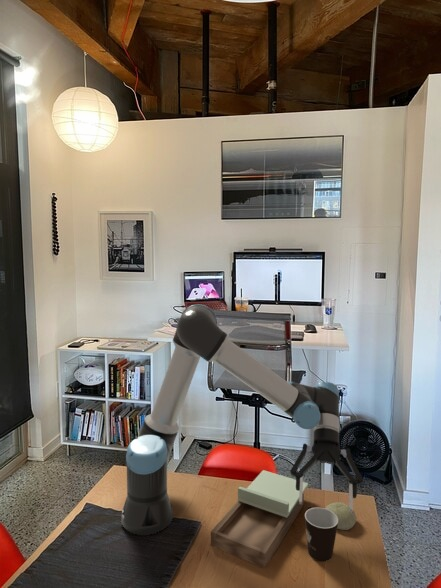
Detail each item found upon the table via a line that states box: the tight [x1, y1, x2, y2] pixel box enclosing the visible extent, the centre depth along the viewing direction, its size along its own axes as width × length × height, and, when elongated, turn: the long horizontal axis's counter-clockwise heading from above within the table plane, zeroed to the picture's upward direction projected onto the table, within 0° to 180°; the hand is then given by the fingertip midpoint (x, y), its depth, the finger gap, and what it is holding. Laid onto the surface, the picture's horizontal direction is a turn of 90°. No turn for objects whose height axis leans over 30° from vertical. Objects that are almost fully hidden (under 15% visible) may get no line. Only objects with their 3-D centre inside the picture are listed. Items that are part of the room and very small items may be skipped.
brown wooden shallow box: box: [210, 493, 305, 569], centre depth 122 cm, size 16×30×4 cm, turn 150°
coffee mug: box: [304, 506, 338, 562], centre depth 112 cm, size 12×9×10 cm
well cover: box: [237, 469, 309, 518], centre depth 130 cm, size 16×19×4 cm
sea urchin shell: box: [325, 501, 357, 531], centre depth 123 cm, size 9×8×8 cm
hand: (325, 506), depth 115 cm, fingers open, 13 cm apart
